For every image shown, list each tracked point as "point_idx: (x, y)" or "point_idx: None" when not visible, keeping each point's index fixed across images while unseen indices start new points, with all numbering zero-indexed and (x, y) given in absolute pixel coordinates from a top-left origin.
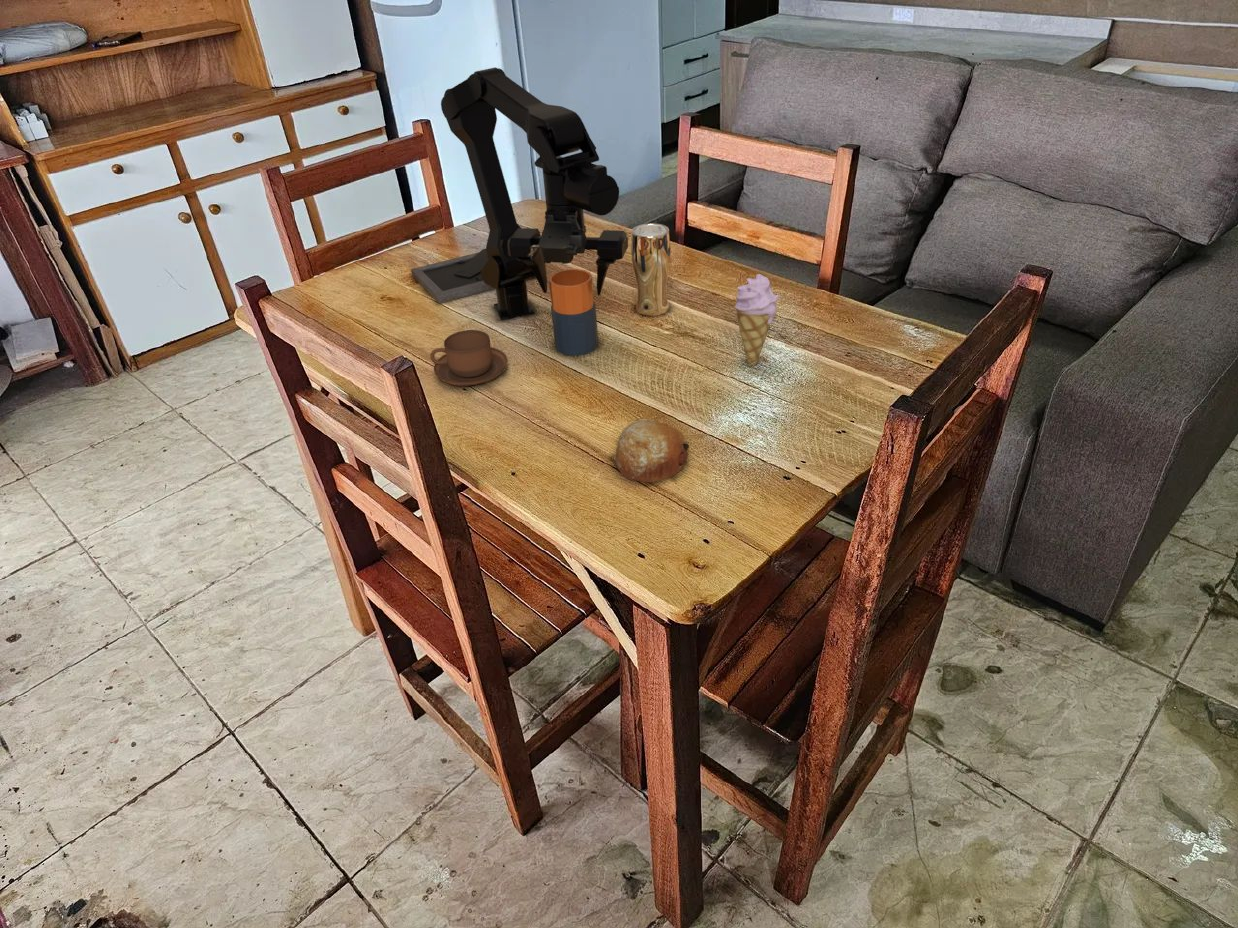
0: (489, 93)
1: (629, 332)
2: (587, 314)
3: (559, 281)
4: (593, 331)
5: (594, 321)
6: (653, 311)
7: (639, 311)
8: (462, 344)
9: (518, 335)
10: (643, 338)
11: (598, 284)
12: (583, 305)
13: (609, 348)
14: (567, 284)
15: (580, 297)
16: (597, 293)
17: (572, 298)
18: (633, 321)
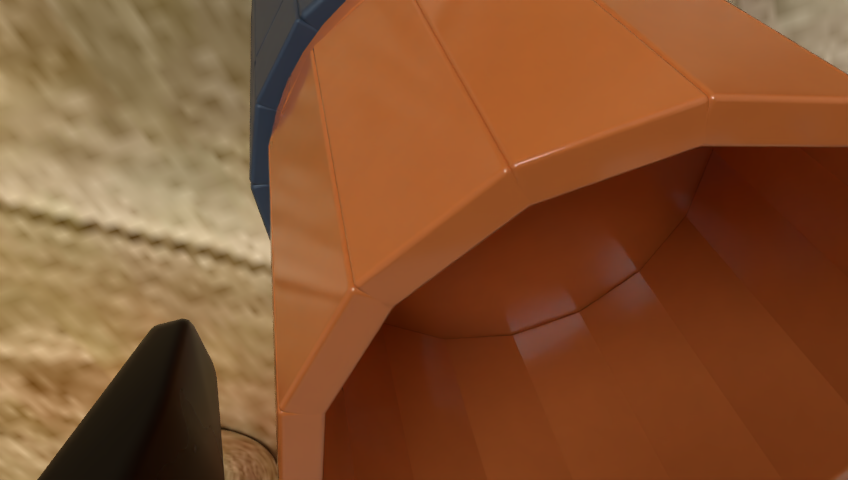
0: None
1: (161, 266)
2: (269, 64)
3: (765, 370)
4: (252, 43)
5: (250, 108)
6: None
7: (227, 439)
8: None
9: (831, 10)
10: (25, 236)
11: (113, 451)
12: (305, 90)
13: (160, 42)
14: (653, 383)
15: (344, 129)
16: (178, 330)
17: (460, 43)
18: (214, 365)
